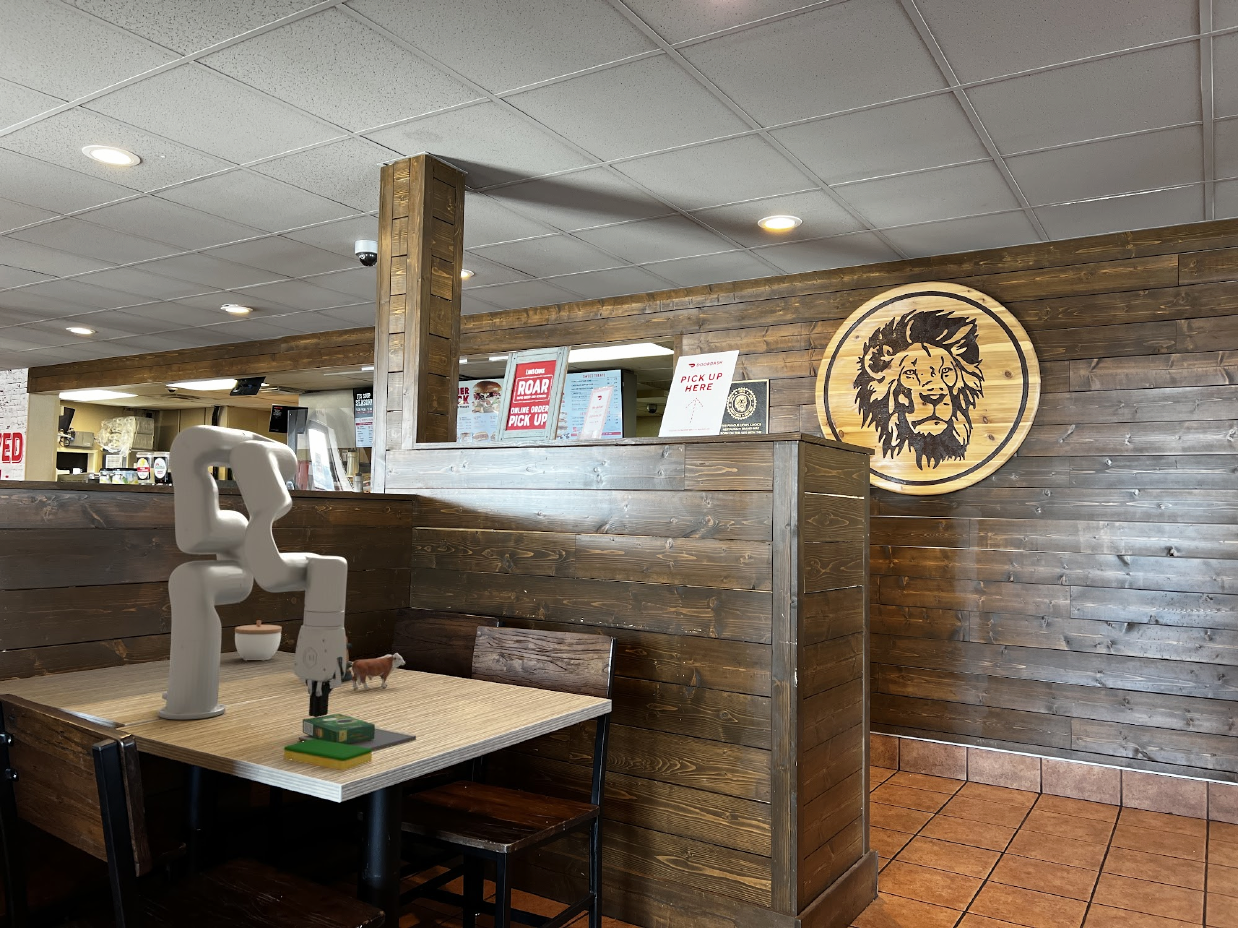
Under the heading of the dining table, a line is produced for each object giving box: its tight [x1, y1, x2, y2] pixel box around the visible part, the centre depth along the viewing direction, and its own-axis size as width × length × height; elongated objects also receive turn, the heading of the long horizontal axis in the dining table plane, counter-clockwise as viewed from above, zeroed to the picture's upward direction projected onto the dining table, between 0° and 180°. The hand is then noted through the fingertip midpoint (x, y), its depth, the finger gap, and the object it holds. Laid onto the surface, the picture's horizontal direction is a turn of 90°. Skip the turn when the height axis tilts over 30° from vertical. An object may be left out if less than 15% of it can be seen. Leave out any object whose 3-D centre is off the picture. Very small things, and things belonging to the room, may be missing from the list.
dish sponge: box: [283, 739, 373, 771], centre depth 152 cm, size 7×14×2 cm, turn 63°
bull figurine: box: [351, 652, 406, 691], centre depth 218 cm, size 4×13×8 cm, turn 127°
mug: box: [341, 636, 354, 683], centre depth 228 cm, size 13×10×12 cm
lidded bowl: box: [234, 620, 283, 661], centre depth 257 cm, size 13×13×11 cm
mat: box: [297, 726, 417, 751], centre depth 166 cm, size 16×14×1 cm
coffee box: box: [302, 713, 376, 744], centre depth 165 cm, size 8×3×13 cm
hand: (318, 715), depth 171 cm, fingers closed
